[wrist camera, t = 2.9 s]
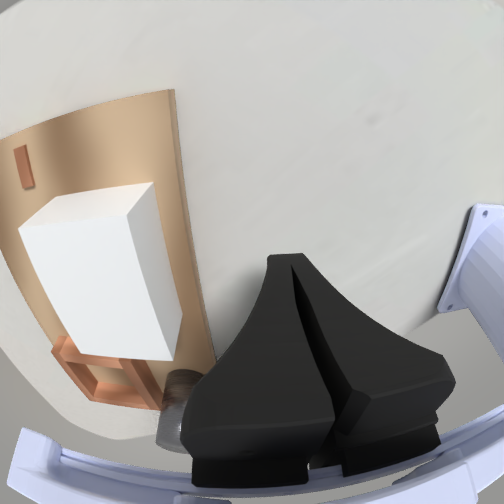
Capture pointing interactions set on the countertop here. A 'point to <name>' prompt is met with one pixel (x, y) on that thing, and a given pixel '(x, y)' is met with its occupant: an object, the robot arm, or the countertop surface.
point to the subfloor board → (93, 178)
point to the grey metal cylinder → (175, 408)
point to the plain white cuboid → (107, 271)
